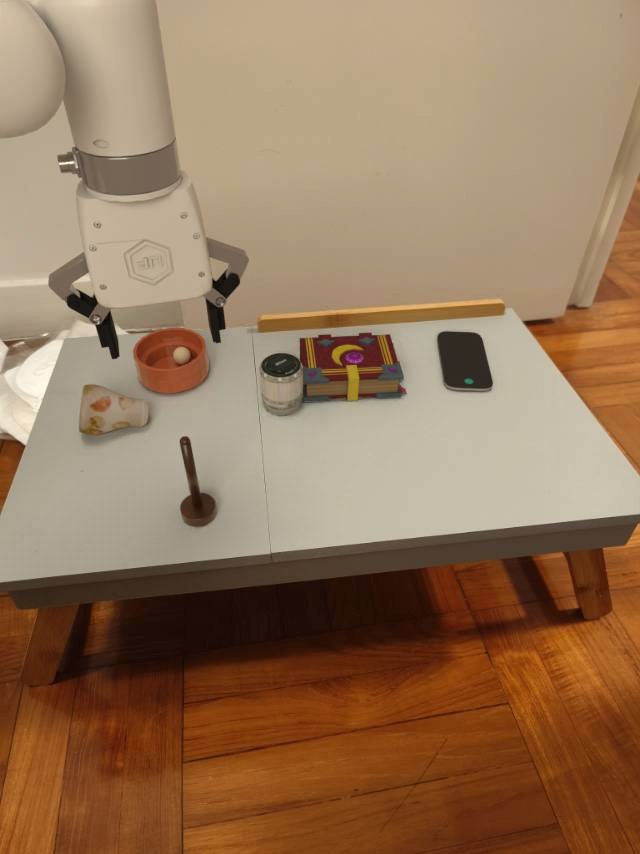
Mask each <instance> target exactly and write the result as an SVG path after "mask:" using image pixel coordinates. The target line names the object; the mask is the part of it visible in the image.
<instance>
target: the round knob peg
mask: <svg viewBox="0 0 640 854" xmlns="http://www.w3.org/2000/svg"><path fill="white" fill-rule="evenodd" d="M179 446H180V450H181V456H182V461H183V465H184V470H185V475H186V480H187V485H188V489H189V495H187V496H186V497H184V499H183V500H182V501H181V503H180V507H179V510H180V515H181V518H182V521H183V522H184V523H185V524H186V525H188V526H190V527H193V528H194V527H195V528H201V527H204V526H207V525H209V524H210V523H212V522H213V521H214V519H216V516H217V512H218V509H217V503H216V500H215V499H214V497H213V496H212V495H211V494H209V493H206V492H201V490H200V483H199V478H198V473H197V469H196V462H195V458H194V452H193V448H192V447H193V446H192V442H191V439H190V437H189V436H188V435H187V436H186V435H185V436H184V435H183V436H181V437H180V438H179Z"/></svg>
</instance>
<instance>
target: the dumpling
mask: <svg viewBox="0 0 640 854" xmlns="http://www.w3.org/2000/svg"><path fill="white" fill-rule="evenodd" d="M190 358H191V354H190V351H189V350H188V349H187V348H185V347H178V348H176V349H175V350H174V352H173V359H174V360H175V362H176V363H178V364H186V363H187V362H188V361H189V360H190Z"/></svg>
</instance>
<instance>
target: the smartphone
mask: <svg viewBox="0 0 640 854" xmlns="http://www.w3.org/2000/svg"><path fill="white" fill-rule="evenodd" d="M436 341H437V348H438V356H439V360H440V369H441V374H442V379H443V380H442V381H443V384H444V386H445V387H446V388H447V389H449V390H453V391H462V392H464V391H465V392H487V391H490V390H491V389H493V385H494V381H493V376H492V373H491V369H490V365H489V364H490V363H489V361H488V360H489V359H488V357H487V356H488V355H487V352H486V349H485V344H484V339H483V337H482V336H481V335H480V334H479V333H478V332H474V331H454V330H451V331H450V330H444V331H441V332H439V333H438V335H437V337H436Z"/></svg>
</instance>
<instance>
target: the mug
mask: <svg viewBox="0 0 640 854" xmlns="http://www.w3.org/2000/svg"><path fill="white" fill-rule="evenodd" d="M80 400H81V401H80V405H79V407H80V408H79V420H78V432H79V433H81V434H85V435H92V436H93V435H94V436H95V435H101V434H105V433H108V432H111V431H114V430H119V429H121V428H127V427H128V428H129V427H131V428H132V427H135V428H136V427H137V428H142V427H144V426H145V425H146V424H147V423H148V422H149V417H150V406H149V404H148V403H147V401H145V400H144V399H138V398H131V397H127V396H124V395H122V394H121V393H118V392H116V391H114V390H112V389H110V388H107V387H105V386H103V385H99V384H93V383H92V384H84V385H83V386H82V392H81V398H80Z"/></svg>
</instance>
